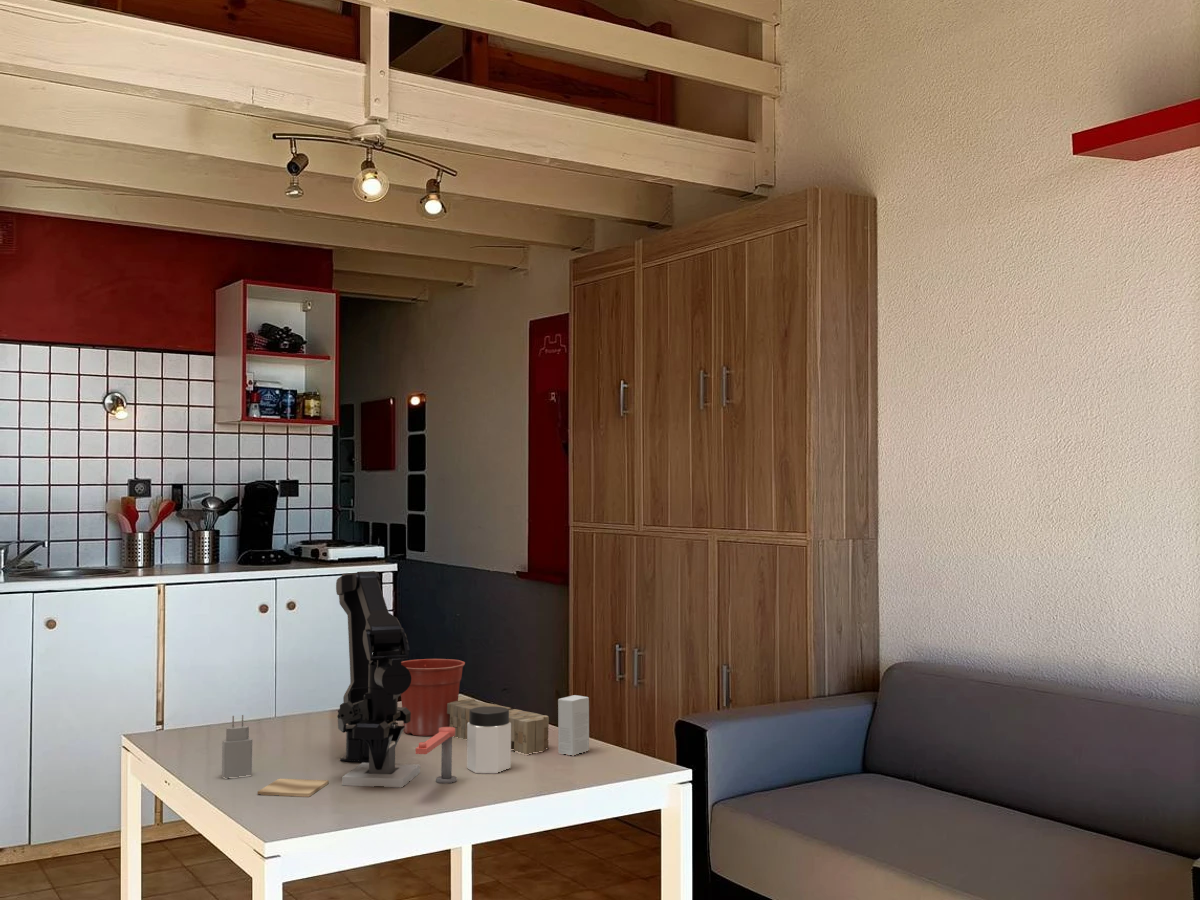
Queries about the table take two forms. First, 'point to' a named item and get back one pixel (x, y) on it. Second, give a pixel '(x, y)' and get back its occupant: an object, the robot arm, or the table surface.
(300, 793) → the wooden pad
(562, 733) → the skincare box
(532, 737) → the block tower
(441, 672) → the flower pot
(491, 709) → the jar
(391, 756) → the plug
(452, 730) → the pink lever
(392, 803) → the table surface
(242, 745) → the power adapter
